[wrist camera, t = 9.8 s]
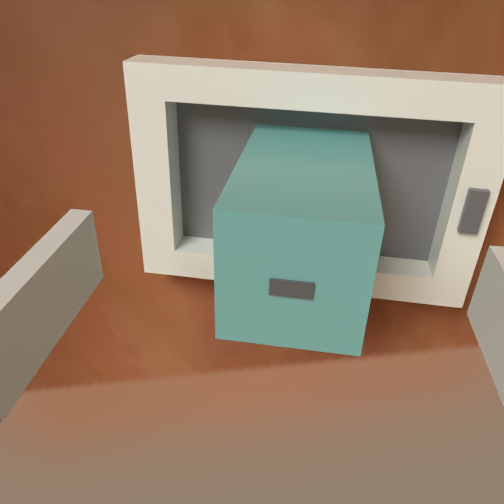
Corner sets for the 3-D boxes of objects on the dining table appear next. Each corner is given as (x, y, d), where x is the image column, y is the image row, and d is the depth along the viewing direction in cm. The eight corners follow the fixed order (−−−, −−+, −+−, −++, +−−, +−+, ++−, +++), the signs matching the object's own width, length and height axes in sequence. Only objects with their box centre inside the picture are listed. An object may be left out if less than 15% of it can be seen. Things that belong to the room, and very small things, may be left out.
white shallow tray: (155, 254, 27) (142, 275, 25) (138, 54, 21) (119, 62, 20) (454, 287, 25) (463, 311, 23) (518, 76, 19) (536, 88, 18)
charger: (254, 221, 24) (214, 340, 17) (256, 124, 22) (211, 211, 14) (353, 230, 24) (360, 358, 16) (368, 131, 21) (385, 227, 14)
